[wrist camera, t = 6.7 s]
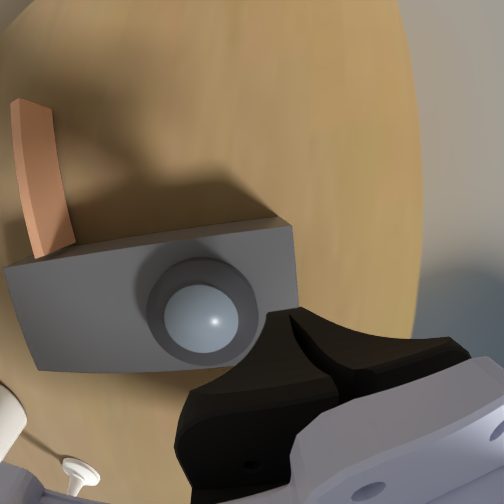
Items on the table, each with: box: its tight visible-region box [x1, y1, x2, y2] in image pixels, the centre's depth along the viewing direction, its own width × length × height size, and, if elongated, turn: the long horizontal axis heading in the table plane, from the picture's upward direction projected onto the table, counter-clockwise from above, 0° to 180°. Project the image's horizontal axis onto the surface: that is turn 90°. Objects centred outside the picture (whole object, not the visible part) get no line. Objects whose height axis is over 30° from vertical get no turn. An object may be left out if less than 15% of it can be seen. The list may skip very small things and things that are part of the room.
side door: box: [10, 98, 76, 259], centre depth 16 cm, size 1×10×4 cm, turn 12°
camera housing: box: [3, 216, 299, 373], centre depth 17 cm, size 8×18×6 cm, turn 97°
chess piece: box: [62, 458, 100, 497], centre depth 20 cm, size 5×5×10 cm
